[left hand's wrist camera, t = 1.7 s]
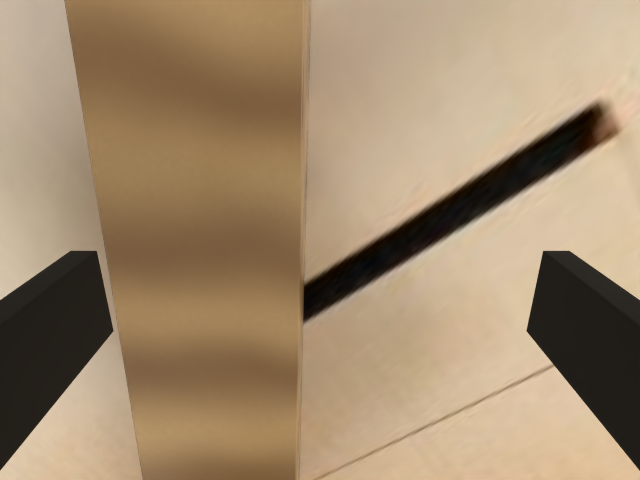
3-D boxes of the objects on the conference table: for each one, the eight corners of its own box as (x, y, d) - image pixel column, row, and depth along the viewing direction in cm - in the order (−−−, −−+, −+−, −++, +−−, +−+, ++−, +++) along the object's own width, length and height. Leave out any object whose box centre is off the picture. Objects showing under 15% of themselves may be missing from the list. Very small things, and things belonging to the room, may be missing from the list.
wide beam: (139, -8, 22) (55, -46, 15) (311, -1, 22) (306, -35, 15) (203, 601, 41) (180, 708, 34) (296, 603, 41) (291, 711, 34)
